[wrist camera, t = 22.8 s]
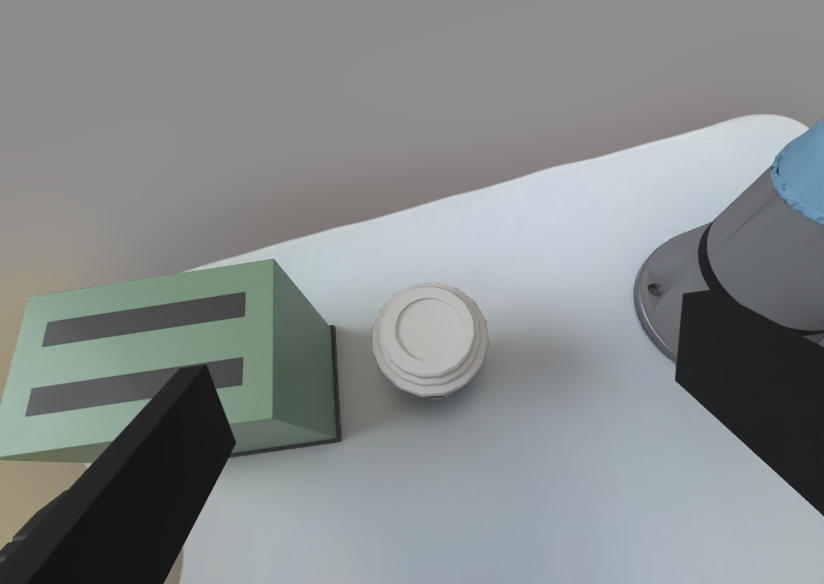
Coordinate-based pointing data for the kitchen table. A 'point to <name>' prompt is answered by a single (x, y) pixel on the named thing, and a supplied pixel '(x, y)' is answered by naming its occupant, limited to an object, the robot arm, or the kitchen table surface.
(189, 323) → the toaster
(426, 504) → the kitchen table surface
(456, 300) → the coffee cup
